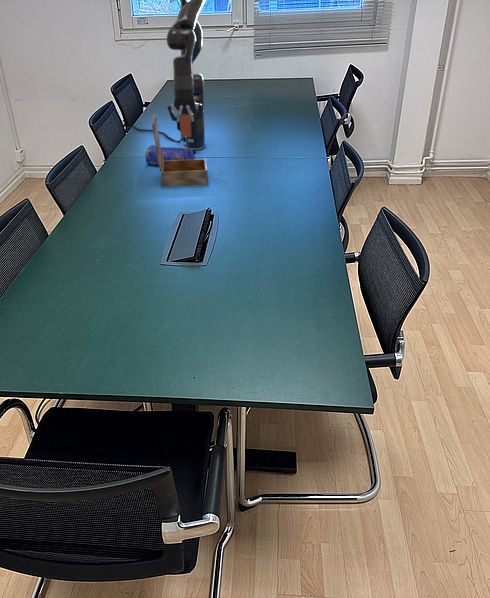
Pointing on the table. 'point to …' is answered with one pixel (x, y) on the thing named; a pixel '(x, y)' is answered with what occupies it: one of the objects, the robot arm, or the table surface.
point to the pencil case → (169, 154)
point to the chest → (184, 172)
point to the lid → (157, 142)
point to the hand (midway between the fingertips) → (185, 130)
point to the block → (185, 125)
